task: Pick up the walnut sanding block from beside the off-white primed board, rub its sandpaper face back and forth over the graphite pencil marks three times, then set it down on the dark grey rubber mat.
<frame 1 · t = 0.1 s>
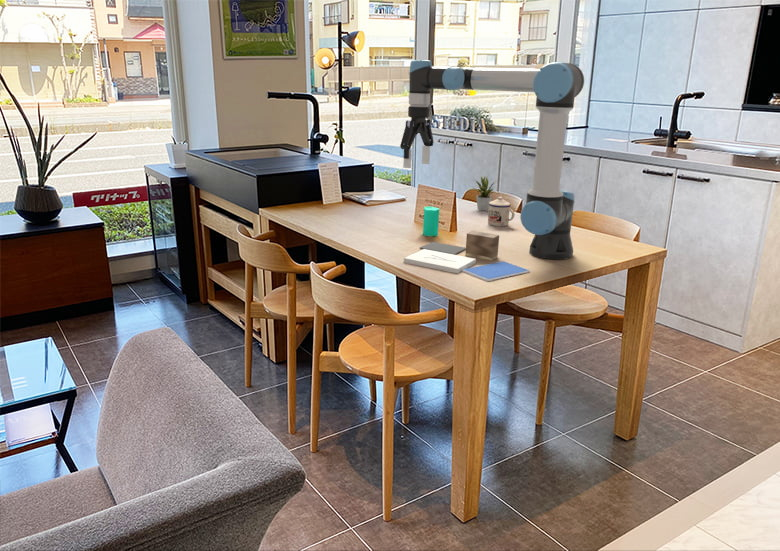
hand: (416, 165, 232), 28 cm above the table, fingers open, 13 cm apart
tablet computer: (495, 273, 205), on the table
candle: (430, 234, 249), on the table
house plant: (480, 209, 297), on the table
teacup with lid: (500, 225, 268), on the table
sanding block: (481, 256, 222), on the table
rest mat: (443, 248, 229), on the table
marked board: (439, 262, 213), on the table
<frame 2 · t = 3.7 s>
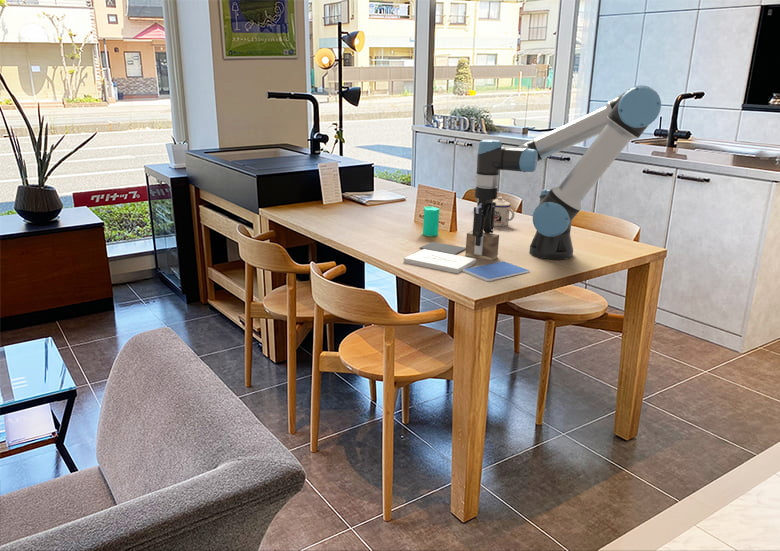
hand: (481, 252, 221), 1 cm above the table, fingers closed on sanding block, 5 cm apart
sanding block: (481, 256, 222), on the table, touching gripper
everything else where it was.
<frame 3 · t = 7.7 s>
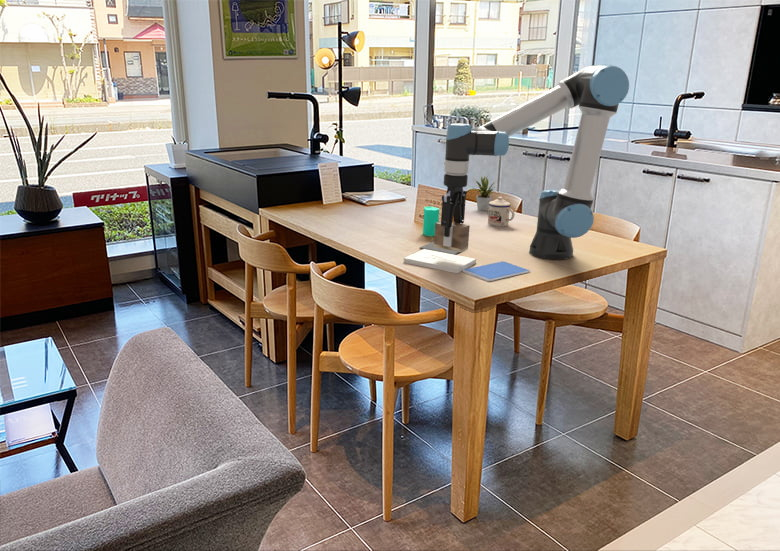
hand: (451, 244, 208), 7 cm above the table, fingers closed on sanding block, 5 cm apart
sanding block: (450, 247, 209), point 6 cm above the table, touching gripper
everything else where it was.
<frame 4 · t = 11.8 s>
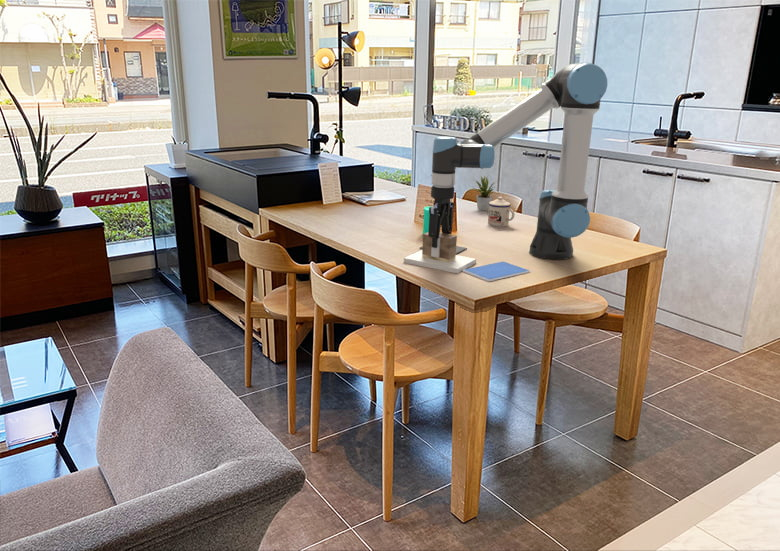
hand: (439, 254, 212), 3 cm above the table, fingers closed on sanding block, 5 cm apart
sanding block: (438, 257, 212), point 2 cm above the table, touching gripper
everything else where it was.
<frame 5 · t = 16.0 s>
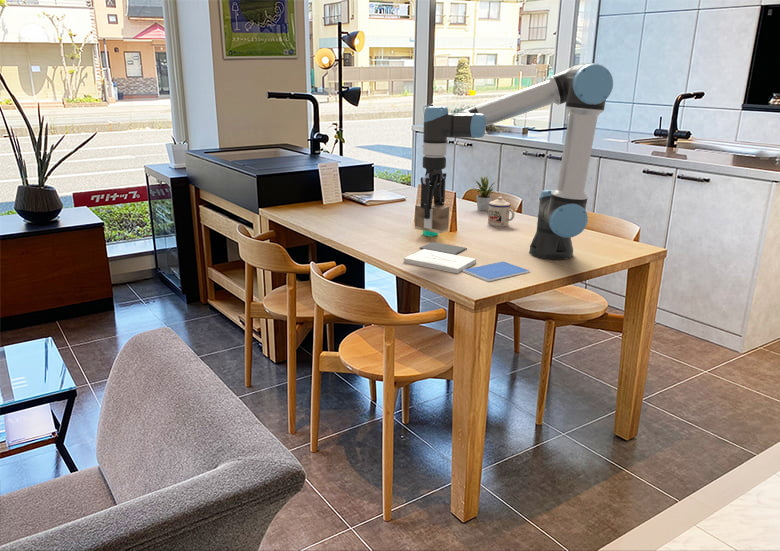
hand: (432, 226, 211), 12 cm above the table, fingers closed on sanding block, 5 cm apart
sanding block: (431, 229, 211), point 11 cm above the table, touching gripper
everything else where it was.
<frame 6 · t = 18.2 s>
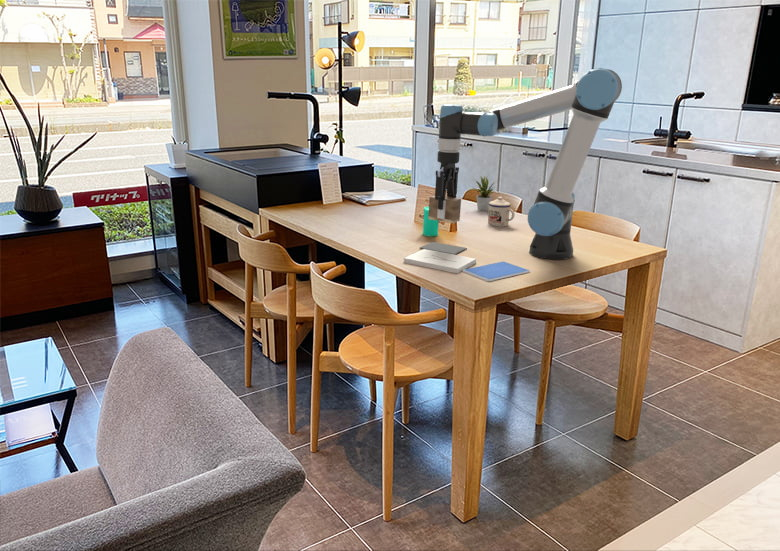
hand: (444, 216, 225), 12 cm above the table, fingers closed on sanding block, 5 cm apart
sanding block: (443, 219, 226), point 11 cm above the table, touching gripper
everything else where it was.
when the fingers open (3 cm above the table, at t = 20.0 s): sanding block drops 1 cm, resting on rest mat.
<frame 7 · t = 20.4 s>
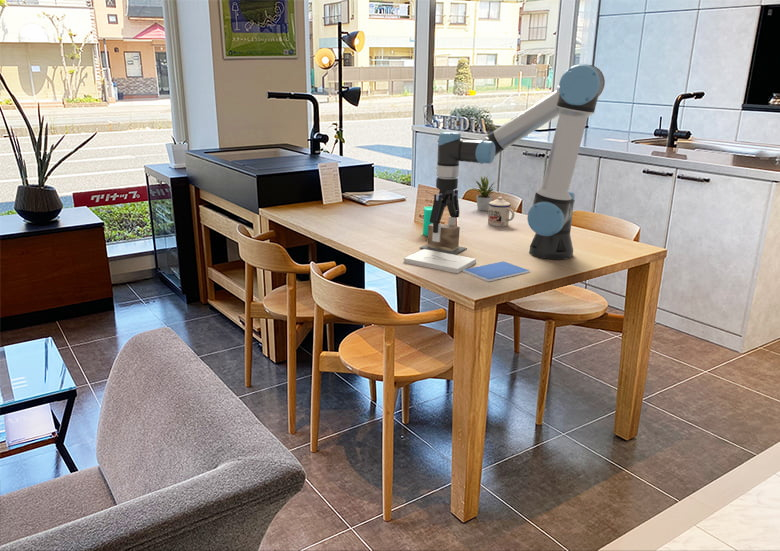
hand: (443, 238, 228), 4 cm above the table, fingers open, 11 cm apart
sanding block: (442, 247, 229), resting on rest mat
everything else where it was.
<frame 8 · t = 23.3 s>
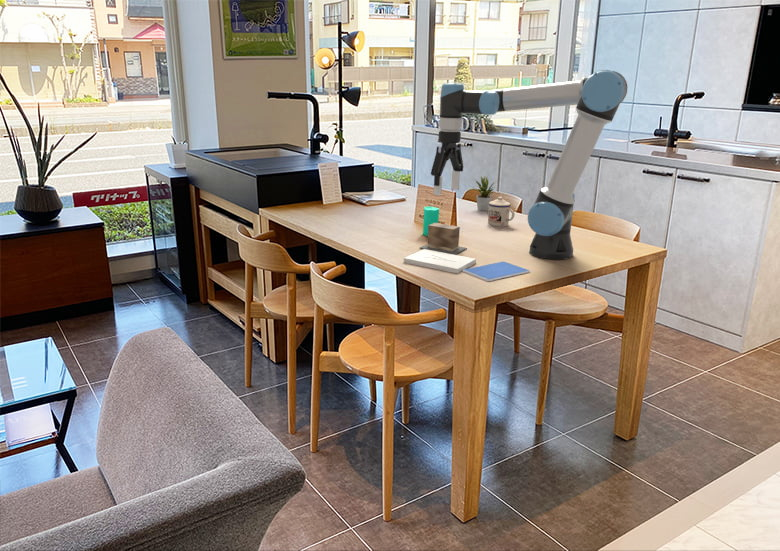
hand: (446, 192, 223), 21 cm above the table, fingers open, 13 cm apart
nothing on the table moved.
at the end: sanding block 0.2 cm off-centre on the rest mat, point 0.5 cm above the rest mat's base; sanding block tilted 0°; the gripper is holding nothing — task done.
